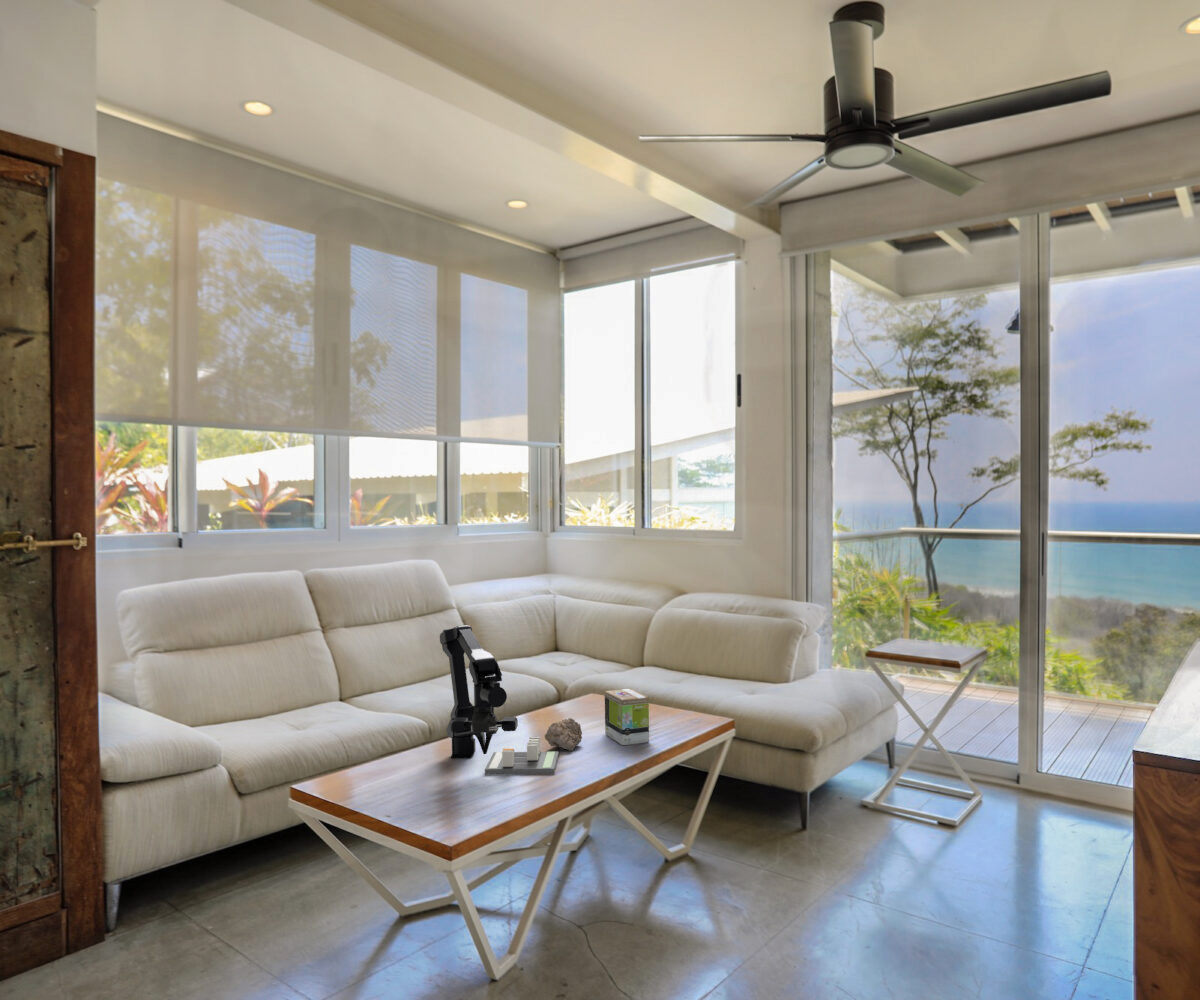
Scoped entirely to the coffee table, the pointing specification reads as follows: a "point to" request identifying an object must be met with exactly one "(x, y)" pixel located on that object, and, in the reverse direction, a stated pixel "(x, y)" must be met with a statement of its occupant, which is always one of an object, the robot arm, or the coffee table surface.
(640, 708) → the tea box
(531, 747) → the block
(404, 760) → the coffee table surface
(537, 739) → the block
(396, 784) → the coffee table surface
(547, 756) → the breaker panel
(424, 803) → the coffee table surface
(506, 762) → the block
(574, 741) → the coral
